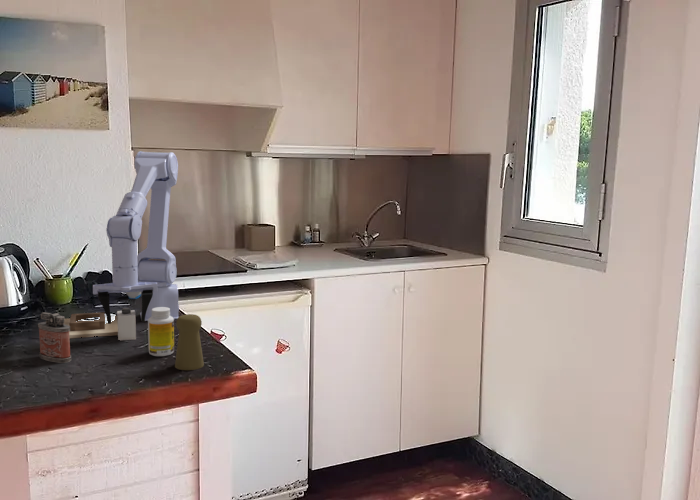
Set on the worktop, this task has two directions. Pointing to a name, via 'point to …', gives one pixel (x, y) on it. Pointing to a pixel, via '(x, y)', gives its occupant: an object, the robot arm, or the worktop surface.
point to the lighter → (54, 338)
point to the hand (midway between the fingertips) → (126, 321)
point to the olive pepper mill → (189, 343)
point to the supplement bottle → (161, 332)
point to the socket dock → (90, 325)
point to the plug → (126, 324)
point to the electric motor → (133, 295)
